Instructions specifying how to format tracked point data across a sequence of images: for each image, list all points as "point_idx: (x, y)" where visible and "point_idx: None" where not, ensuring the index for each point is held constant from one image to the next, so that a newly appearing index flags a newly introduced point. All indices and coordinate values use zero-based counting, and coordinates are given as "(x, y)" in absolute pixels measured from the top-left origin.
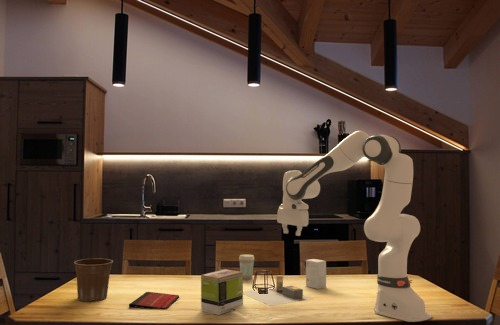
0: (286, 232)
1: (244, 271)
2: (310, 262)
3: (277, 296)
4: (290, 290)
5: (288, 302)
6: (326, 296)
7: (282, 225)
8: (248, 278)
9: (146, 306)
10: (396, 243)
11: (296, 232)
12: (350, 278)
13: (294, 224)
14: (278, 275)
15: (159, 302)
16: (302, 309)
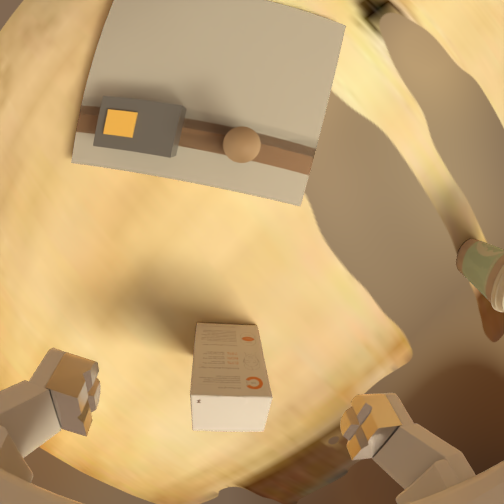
0: (355, 412)
1: (483, 247)
2: (239, 391)
3: (184, 74)
4: (124, 98)
5: (98, 52)
6: (104, 264)
7: (456, 458)
8: (460, 250)
9: None
10: None
11: (59, 382)
12: (229, 454)
13: (8, 489)
14: (256, 150)
15: None
16: (52, 71)
